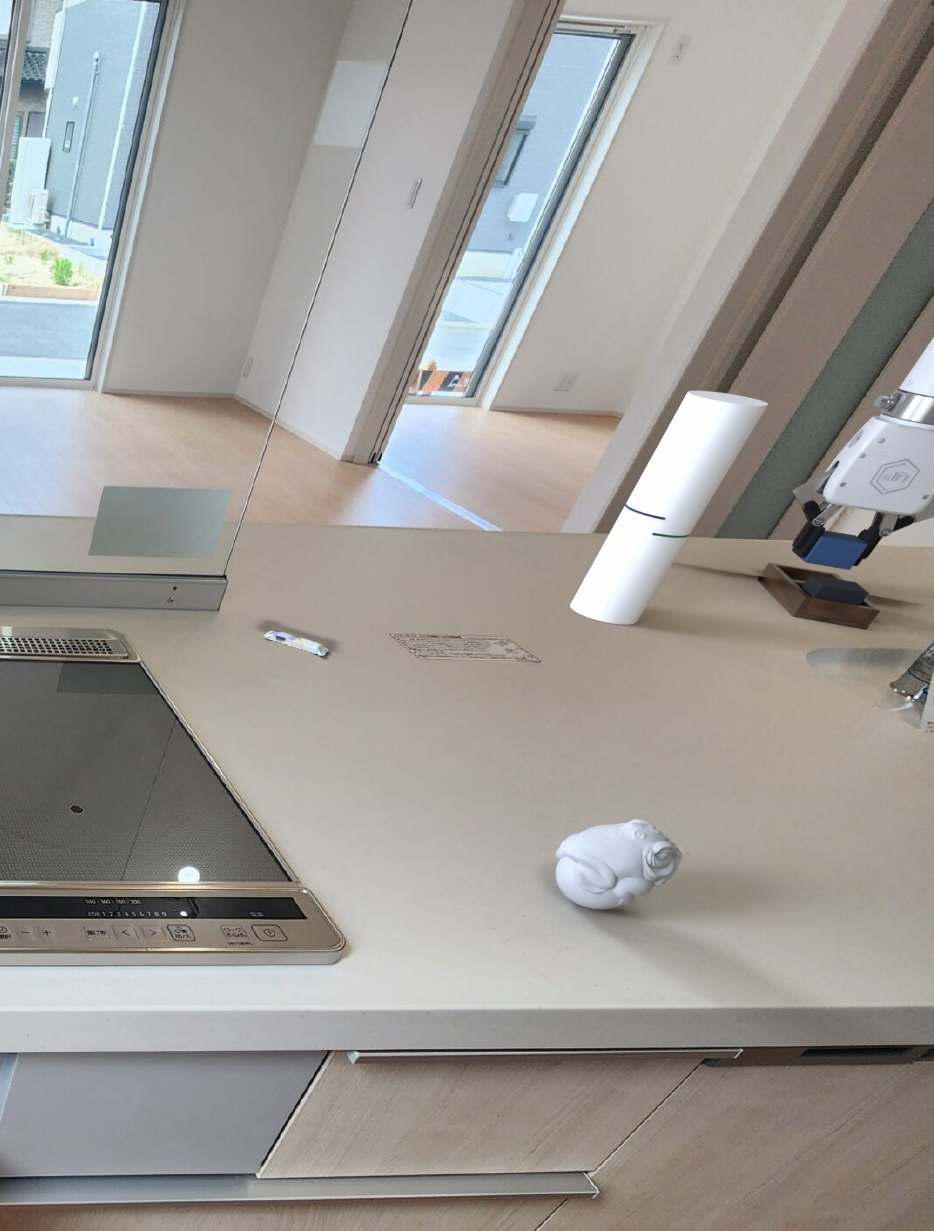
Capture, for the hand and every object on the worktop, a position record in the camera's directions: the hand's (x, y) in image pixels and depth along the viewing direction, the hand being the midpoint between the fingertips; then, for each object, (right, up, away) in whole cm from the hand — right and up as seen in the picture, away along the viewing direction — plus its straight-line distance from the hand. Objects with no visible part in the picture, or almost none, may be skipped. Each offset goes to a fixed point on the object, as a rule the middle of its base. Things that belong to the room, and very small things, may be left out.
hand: (824, 557), depth 125 cm
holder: (-2, -6, +1) cm, 6 cm away
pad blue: (0, -1, 0) cm, 1 cm away
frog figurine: (-76, -42, -54) cm, 102 cm away
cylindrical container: (-35, -9, -6) cm, 36 cm away
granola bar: (-80, -16, -19) cm, 84 cm away
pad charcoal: (-3, -7, -2) cm, 8 cm away
